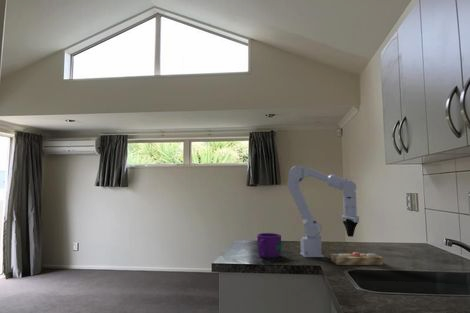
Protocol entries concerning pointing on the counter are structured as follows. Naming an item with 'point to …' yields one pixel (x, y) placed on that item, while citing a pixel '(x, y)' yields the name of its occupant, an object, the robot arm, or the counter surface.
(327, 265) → the counter surface
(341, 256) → the plug left
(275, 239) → the mug
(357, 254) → the plug red
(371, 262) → the socket block
